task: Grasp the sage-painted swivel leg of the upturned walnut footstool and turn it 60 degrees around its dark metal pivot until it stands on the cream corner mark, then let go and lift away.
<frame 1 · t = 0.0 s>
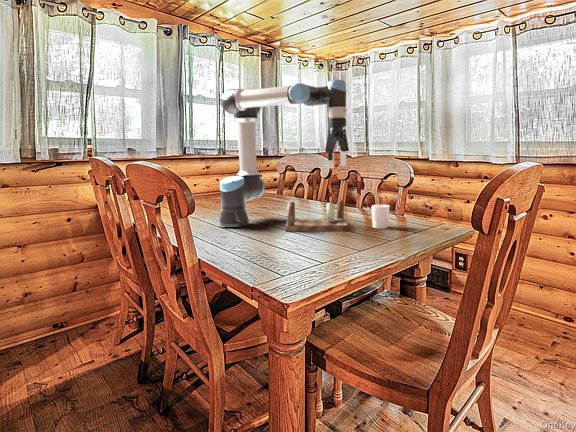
hand: (337, 167, 169), 28 cm above the table, fingers open, 13 cm apart
hinged leg: (335, 212, 174), point 7 cm above the table, hinge at 0.0°
white cup: (380, 227, 174), on the table
stool: (316, 227, 176), on the table
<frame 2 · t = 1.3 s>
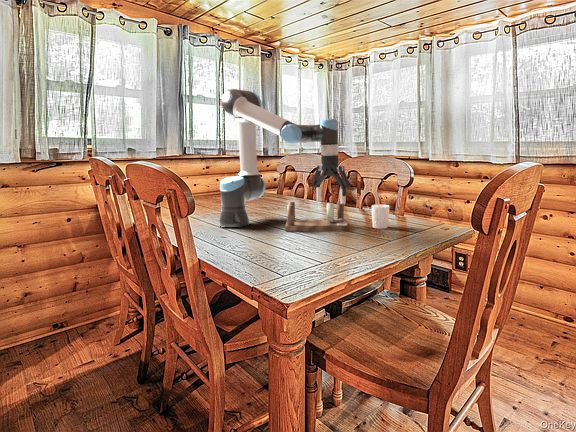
hand: (330, 202, 172), 12 cm above the table, fingers open, 13 cm apart
nothing on the table moved.
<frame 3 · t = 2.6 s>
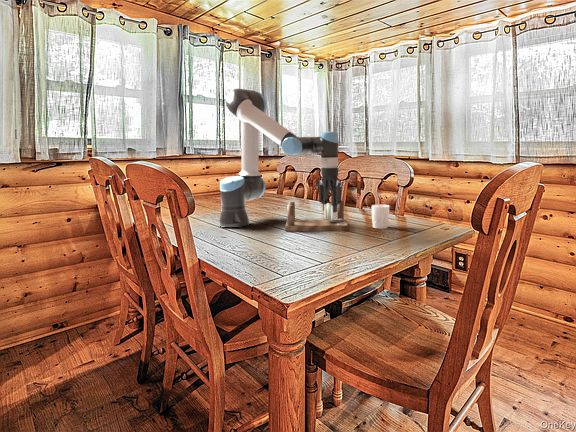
hand: (330, 218, 174), 5 cm above the table, fingers closed on hinged leg, 3 cm apart
hinged leg: (335, 212, 174), point 7 cm above the table, hinge at 0.0°, touching gripper
everything else where it was.
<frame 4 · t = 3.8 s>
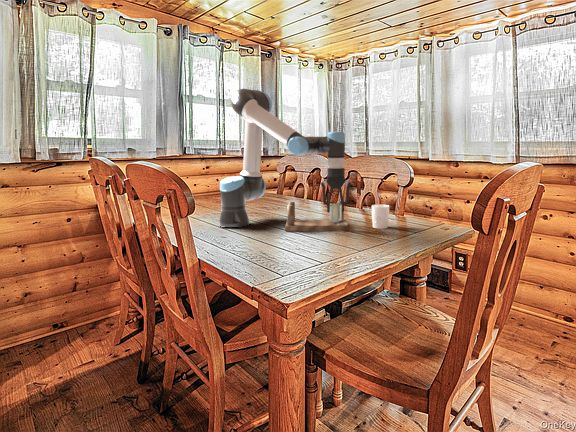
hand: (335, 219, 172), 5 cm above the table, fingers open, 4 cm apart
hinged leg: (337, 212, 173), point 7 cm above the table, hinge at 28.8°, touching gripper
everything else where it was.
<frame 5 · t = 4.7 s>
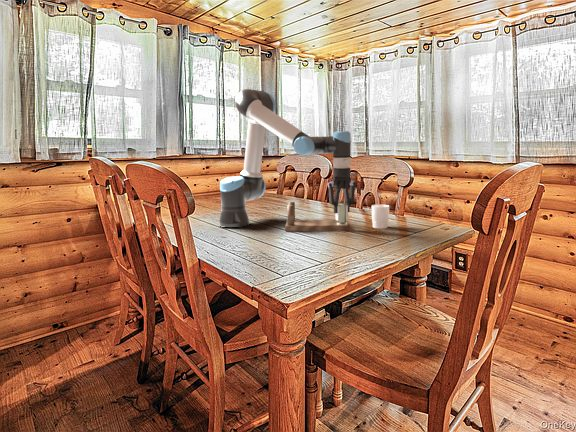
hand: (341, 219, 170), 5 cm above the table, fingers closed on hinged leg, 3 cm apart
hinged leg: (341, 212, 173), point 7 cm above the table, hinge at 57.8°, touching gripper
everything else where it was.
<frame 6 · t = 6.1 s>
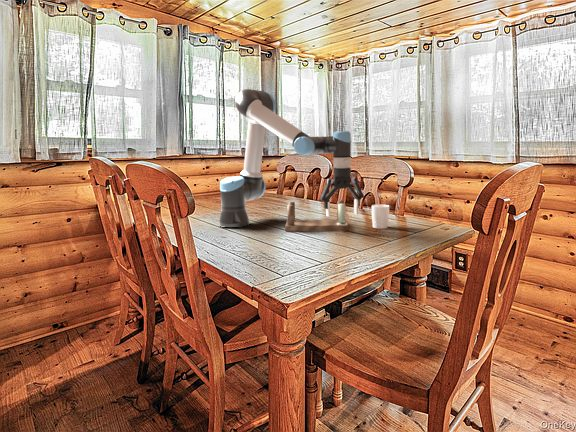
hand: (342, 215, 170), 7 cm above the table, fingers open, 13 cm apart
hinged leg: (341, 212, 173), point 7 cm above the table, hinge at 59.0°
everything else where it was.
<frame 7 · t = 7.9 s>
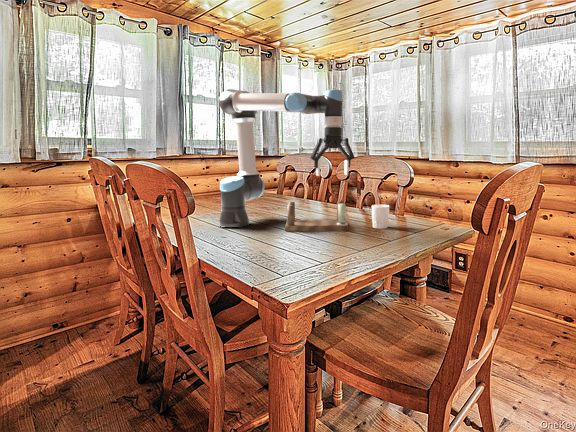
hand: (332, 175, 171), 24 cm above the table, fingers open, 13 cm apart
nothing on the table moved.
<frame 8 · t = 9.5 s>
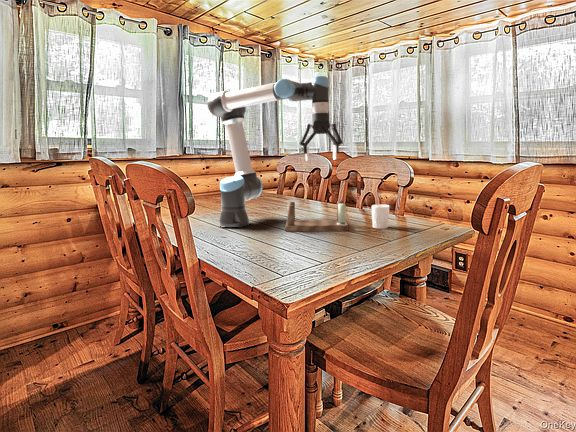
hand: (321, 160, 175), 31 cm above the table, fingers open, 13 cm apart
nothing on the table moved.
at the end: hinged leg at +59° (first picture: +0°); the gripper is holding nothing; white cup moved 0.2 cm from its start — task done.
